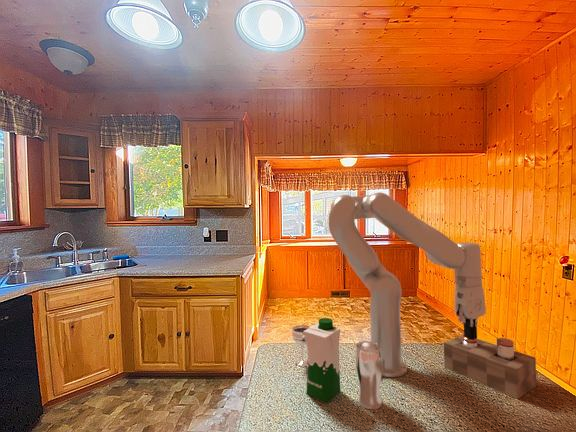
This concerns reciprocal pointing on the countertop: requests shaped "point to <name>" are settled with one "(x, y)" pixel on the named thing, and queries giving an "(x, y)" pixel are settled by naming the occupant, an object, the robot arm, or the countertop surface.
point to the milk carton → (323, 360)
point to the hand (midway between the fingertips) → (470, 337)
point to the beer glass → (369, 374)
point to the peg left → (469, 342)
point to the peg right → (505, 349)
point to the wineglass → (300, 339)
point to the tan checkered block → (491, 366)
